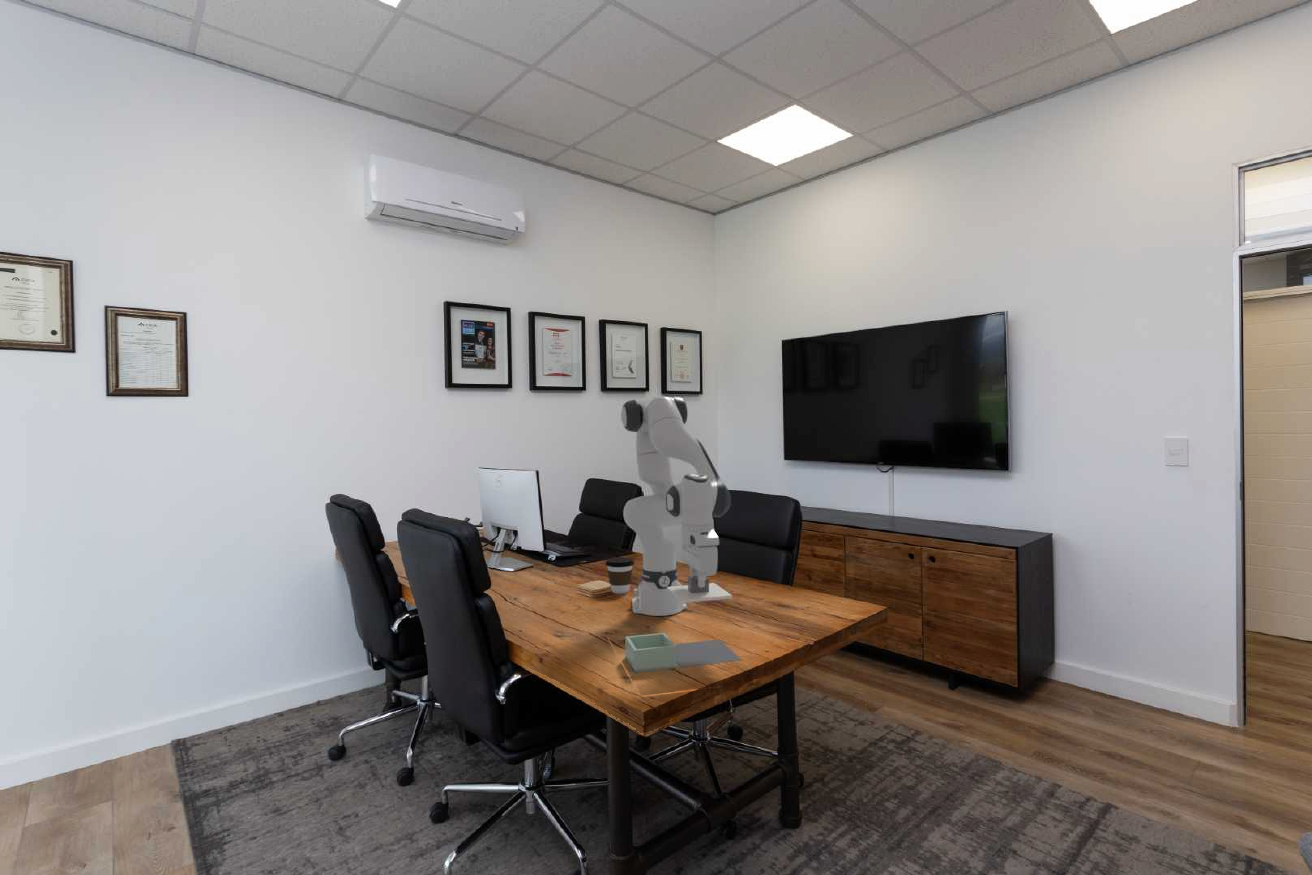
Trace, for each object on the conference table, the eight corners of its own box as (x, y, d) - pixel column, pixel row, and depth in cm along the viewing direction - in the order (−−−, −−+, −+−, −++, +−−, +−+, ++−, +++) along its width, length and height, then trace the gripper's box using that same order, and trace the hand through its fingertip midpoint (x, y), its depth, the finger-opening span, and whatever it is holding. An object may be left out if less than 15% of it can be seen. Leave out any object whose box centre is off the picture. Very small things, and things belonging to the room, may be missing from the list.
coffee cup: (604, 588, 248) (603, 557, 248) (632, 587, 250) (632, 556, 250) (607, 596, 237) (606, 563, 237) (637, 594, 239) (636, 562, 239)
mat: (662, 646, 183) (662, 645, 183) (719, 640, 187) (719, 639, 187) (680, 668, 167) (680, 667, 167) (742, 661, 171) (742, 660, 171)
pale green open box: (625, 658, 174) (625, 636, 174) (665, 654, 177) (664, 632, 177) (634, 674, 164) (634, 650, 163) (676, 669, 166) (676, 646, 166)
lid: (666, 589, 181) (666, 574, 181) (713, 585, 185) (713, 570, 185) (681, 603, 168) (681, 586, 168) (732, 598, 171) (731, 582, 171)
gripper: (675, 528, 185) (676, 576, 185) (698, 541, 165) (699, 595, 166) (696, 527, 187) (697, 575, 187) (721, 539, 167) (722, 593, 167)
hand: (698, 584), depth 176 cm, fingers closed on lid, 3 cm apart
